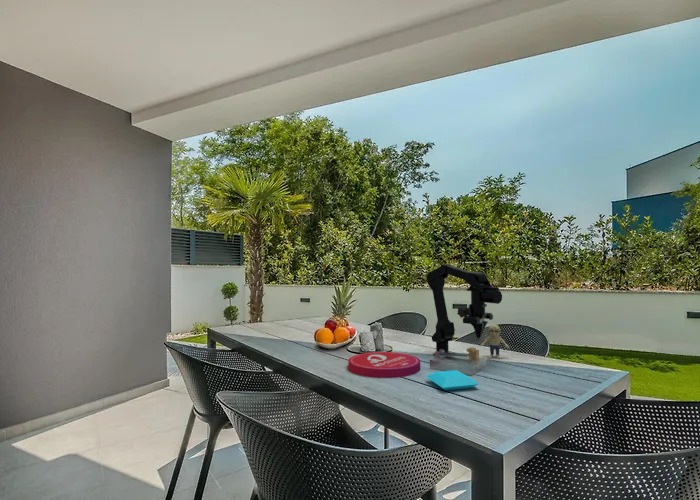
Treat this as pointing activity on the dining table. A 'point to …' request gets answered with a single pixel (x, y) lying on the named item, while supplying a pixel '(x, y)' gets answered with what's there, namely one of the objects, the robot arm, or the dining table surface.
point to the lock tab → (473, 353)
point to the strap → (454, 354)
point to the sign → (384, 364)
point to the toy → (494, 340)
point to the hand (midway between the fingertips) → (478, 338)
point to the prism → (452, 380)
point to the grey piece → (458, 363)
